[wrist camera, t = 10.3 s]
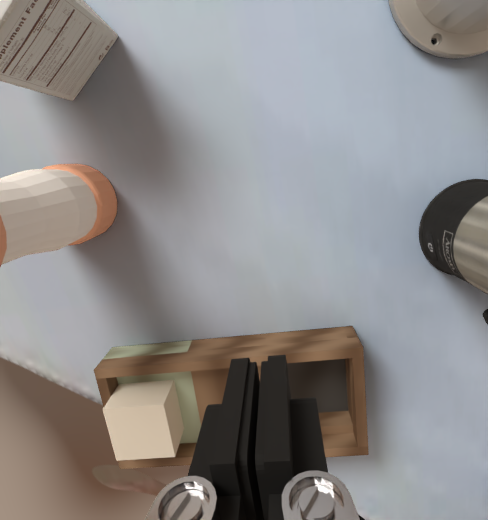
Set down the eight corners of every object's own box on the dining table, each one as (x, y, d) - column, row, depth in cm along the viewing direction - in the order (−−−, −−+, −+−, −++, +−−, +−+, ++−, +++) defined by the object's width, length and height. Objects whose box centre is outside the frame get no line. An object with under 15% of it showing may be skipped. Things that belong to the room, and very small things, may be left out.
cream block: (174, 379, 38) (163, 404, 34) (184, 428, 40) (175, 456, 36) (118, 384, 39) (102, 409, 35) (130, 431, 40) (116, 460, 37)
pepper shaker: (33, 177, 36) (-211, 199, 18) (99, 153, 35) (-87, 148, 17) (65, 246, 38) (-127, 331, 19) (129, 225, 37) (-10, 293, 18)
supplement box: (8, 44, 33) (-142, -21, 21) (55, -28, 31) (-80, -145, 19) (73, 104, 34) (-34, 75, 22) (122, 38, 32) (35, -34, 20)
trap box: (352, 325, 38) (363, 347, 34) (357, 423, 41) (368, 454, 37) (112, 347, 41) (93, 369, 36) (134, 438, 44) (120, 468, 39)
